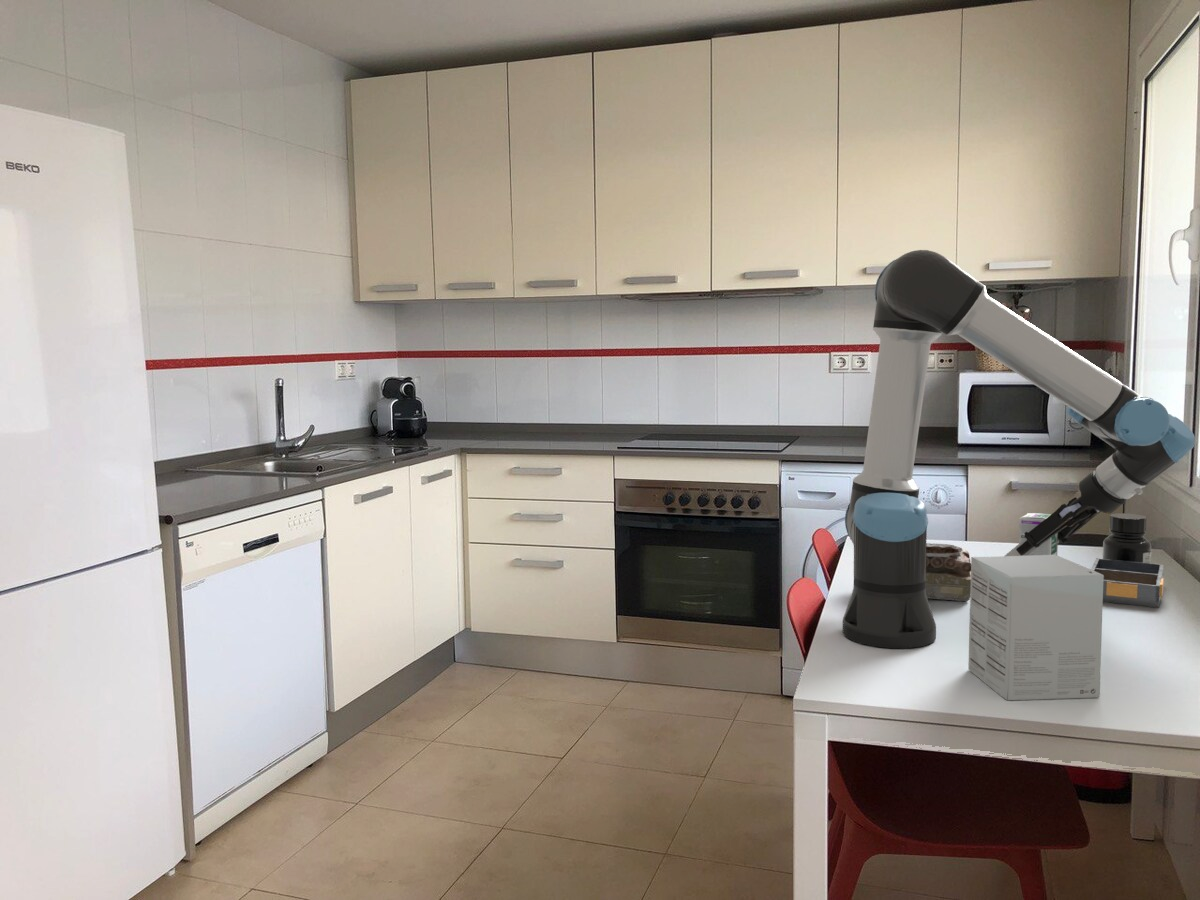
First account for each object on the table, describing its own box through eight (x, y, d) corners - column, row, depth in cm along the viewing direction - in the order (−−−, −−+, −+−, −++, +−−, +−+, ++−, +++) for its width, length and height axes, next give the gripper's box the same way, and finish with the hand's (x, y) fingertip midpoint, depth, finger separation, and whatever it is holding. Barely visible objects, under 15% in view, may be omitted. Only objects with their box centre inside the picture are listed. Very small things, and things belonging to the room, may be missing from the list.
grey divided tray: (1161, 608, 173) (1162, 587, 173) (1085, 600, 180) (1085, 579, 179) (1165, 584, 190) (1166, 564, 190) (1095, 577, 197) (1096, 558, 196)
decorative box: (972, 611, 174) (973, 559, 173) (860, 601, 182) (861, 551, 181) (976, 594, 186) (977, 545, 184) (871, 585, 194) (872, 538, 193)
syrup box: (1049, 595, 177) (1053, 519, 175) (1016, 591, 180) (1019, 515, 179) (1056, 589, 181) (1060, 514, 180) (1023, 585, 185) (1026, 511, 183)
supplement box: (1052, 667, 143) (1056, 553, 142) (1101, 698, 130) (1106, 574, 128) (966, 669, 143) (968, 555, 141) (1006, 701, 130) (1009, 576, 128)
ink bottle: (1158, 577, 195) (1160, 520, 194) (1112, 577, 197) (1114, 520, 195) (1139, 567, 205) (1141, 512, 204) (1095, 566, 206) (1097, 512, 205)
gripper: (1099, 507, 161) (1005, 583, 175) (1150, 495, 173) (1058, 567, 187) (1069, 473, 164) (979, 550, 179) (1121, 464, 176) (1033, 536, 191)
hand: (1019, 558), depth 183 cm, fingers closed on syrup box, 7 cm apart
